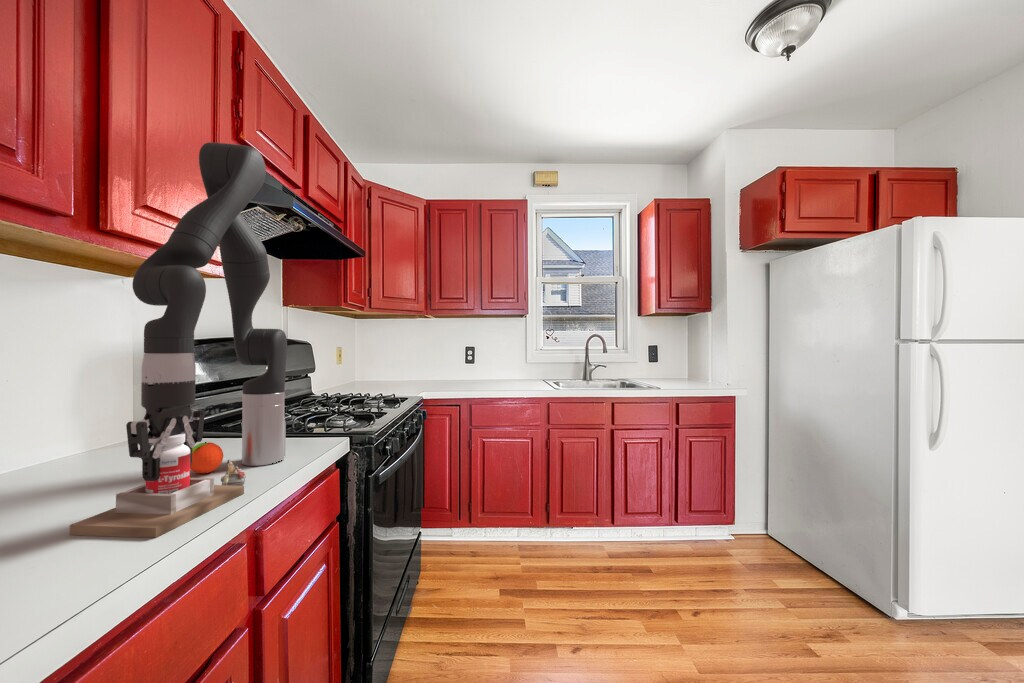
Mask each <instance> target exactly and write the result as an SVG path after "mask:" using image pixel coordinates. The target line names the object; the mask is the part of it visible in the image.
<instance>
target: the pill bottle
mask: <svg viewBox="0 0 1024 683" xmlns="http://www.w3.org/2000/svg"><path fill="white" fill-rule="evenodd" d="M152 439H158V438H156V437H154V436H153V438H152ZM184 442H185V433H181V434H178V435H174V436H170V437H169V438H168V441H167V443H166V444H165V445H163V447H162V449H161V451H160V454H159V456H158V458H160V478H159V479H158V480H155V481H145V484H146V490H145V493H158V494H171V493H174V492H176V491H179V490H181V489H184V488H186V487H189V486H190V478H191V469H190V448H189V447H188V446H186V445H184ZM152 447H154V445H152ZM152 450H153V448H151V449H150V451H152Z"/></svg>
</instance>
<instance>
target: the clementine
mask: <svg viewBox="0 0 1024 683" xmlns="http://www.w3.org/2000/svg"><path fill="white" fill-rule="evenodd" d="M223 460H224V451H223V449H222V448H221V447H220V445H219V444H217V443H214V442H208V441H204V442H199V443H198V444H195V446H194V447H193V448H192V464H191V468H190V471H192V472H193V473H196V474H200V475H202V474H209V473H212V472H213V471H215V470H217V469H218V468H219V467H220V466H221V464H222V463H223Z"/></svg>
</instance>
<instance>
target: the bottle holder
mask: <svg viewBox="0 0 1024 683" xmlns="http://www.w3.org/2000/svg"><path fill="white" fill-rule="evenodd" d="M145 490H146V483H145V484H142V485H139V486H135V487H133V488H131V489H130V488H129V489H127V490H125V491H122V492H119V493H116V494H115V507H114V508H110V509H108V510H105V511H102V512H101V513H98V514H96V515H93V516H90V517H87V518H84V519H82V520H79V521H77V522H74V523H71V524H70V525H69V536H90V537H91V536H94V537H116V538H118V537H120V538H123V537H124V538H146V539H148V538H151V539H157V538H158V537H161V536H162V535H165V534H166V533H168V532H171V531H172V530H174V529H176V528H179V527H180V526H182V525H185V524H187V523H188V522H190V521H193V520H195V519H196V518H198V517H201V516H202V515H204V514H206V513H208V512H210V511H212V510H215V509H216V508H218V507H220V506H222V505H224V504H226V503H228V502H230V501H232V500H234V499H236V498H238V497H240V496H242V495H244V494H245V485H243V486H229V485H222V484H215V477H214V478H213V477H211V478H209V477H190V486H189V487H186V488H184V489H181V490H179V491H176V492H174V493H171V494H158V493H145Z"/></svg>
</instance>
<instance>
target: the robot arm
mask: <svg viewBox="0 0 1024 683" xmlns="http://www.w3.org/2000/svg"><path fill="white" fill-rule="evenodd" d="M198 163H199V164H198V165H199V170H200V171H199V172H200V175H201V178H202V183H203V187H204V190H205V193H206V196H207V198H206V199H204V200H203V201H201V202H199V203H198V204H196V205H194V206H193V207H192V208H190V209H189V210H188V211H187V212H186V213H185V214H184V215H183V216H181V218H180V219H179V221H178V222H177V225H176V226H175V228H173V231H172V233H171V234H170V236H169V238H168V240H167V241H166V242H165V243H164V244H163V245H162V246H160V247H159V248H157V249H156V250H155V251H154V252H153V253H152V254H151V255H150V256H148V258H146V259H145V260H144V262H142V263H141V264H140V266H139V267H138V268H137V270H136V271H135V273H134V275H133V279H132V290H133V293H134V295H135V297H136V298H137V299H138V300H139V301H140V302H142V303H143V304H146V305H148V306H149V305H150V306H155V307H157V306H158V307H160V306H162V307H163V306H165V307H166V308H165V310H164V313H163V315H162V316H161V317H158V318H156V319H151V320H149V321H147V322H146V323H145V324H144V327H143V328H144V330H143V358H142V363H141V383H140V384H141V386H140V387H141V389H140V390H141V394H140V396H141V398H140V399H141V400H140V405H141V407H143V408H144V409H145V415H144V417H143V419H140V420H136V421H134V420H133V421H128V422H127V423H126V427H125V428H126V435H127V437H126V438H127V445H128V454H129V457H130V458H138V459H141V461H142V463H141V467H142V469H141V470H142V471H141V476H142V478H143V480H144V481H145V482H146V481H155V480H158V479H159V478H160V458H158V456H159V454H160V451H161V449H162V447H163V445H165V444H166V443H167V441H168V438H169V437H170V436H174V435H178V434H181V433H185V442H184V445H186V446H188V447H189V448H190V468H191V464H192V448H193V447H195V446H196V444H197V443H202V441H203V435H204V423H205V414H206V412H205V410H204V409H192V408H191V406H193V405H194V404H195V403H196V377H197V376H196V369H197V368H196V365H197V364H196V360H195V330H196V326H197V324H198V321H199V317H200V315H201V311H202V309H203V307H204V306H203V305H204V303H205V300H206V294H207V286H206V282H205V279H204V277H203V275H202V274H201V272H200V271H199V270H198V269H200V268H203V267H206V266H207V265H208V264H209V263H210V261H211V260H212V258H213V256H214V254H215V252H216V250H217V249H218V247H219V255H220V261H221V267H222V271H223V277H224V280H225V285H226V288H227V294H228V295H227V296H228V300H229V305H230V311H231V312H230V314H231V321H232V322H231V323H232V332H233V334H232V335H233V343H234V345H233V346H234V351H235V354H236V355H235V356H236V358H237V361H238V362H239V363H240V364H241V365H243V366H267V369H266V372H264V373H262V374H261V375H260V376H257V377H255V378H251V379H248V380H246V381H244V382H243V383H242V395H241V396H242V399H241V400H242V401H241V402H242V403H241V406H242V410H241V411H242V415H241V416H242V419H241V422H242V424H241V433H242V434H241V464H242V465H244V466H249V467H251V466H254V467H255V466H266V465H273V464H277V463H279V462H278V461H280V462H282V461H283V459H285V457H286V441H287V440H286V439H287V438H286V436H287V435H286V431H287V428H286V427H287V424H286V423H287V422H286V420H285V396H286V395H285V394H286V393H285V392H286V391H285V390H286V388H285V386H286V375H287V373H286V371H287V355H288V354H287V353H288V338H287V335H286V333H285V331H284V330H282V329H280V328H254V327H253V321H252V319H253V312H254V311H255V308H256V305H257V304H258V302H259V300H260V299H261V297H262V295H263V294H264V293H265V292H264V291H266V288H267V287H268V285H269V282H270V277H271V273H270V266H269V261H268V260H269V259H268V254H267V250H266V247H265V245H264V244H263V242H262V241H261V240H260V238H259V237H258V235H257V234H256V233H255V231H254V230H253V229H252V227H251V226H250V225H249V224H248V223H247V221H246V219H244V217H243V215H242V214H241V212H242V211H243V210H244V209H246V207H247V205H248V204H250V202H251V200H253V198H254V197H255V196H256V195H257V193H258V192H259V191H260V190H261V188H262V186H263V185H264V183H265V180H266V175H267V173H266V172H267V168H266V163H265V160H264V158H263V155H262V153H260V151H259V150H257V148H255V147H252V146H249V145H243V144H236V143H234V144H233V143H223V142H212V141H211V142H205V143H203V145H202V146H201V147H200V149H199V152H198ZM194 429H195V434H194ZM153 436H154V437H156V438H158V439H152V438H153ZM153 445H154V446H153ZM151 449H153V450H152V451H150V450H151ZM284 456H285V457H284ZM281 460H282V461H281ZM276 462H277V463H276ZM272 463H273V464H272Z"/></svg>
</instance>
